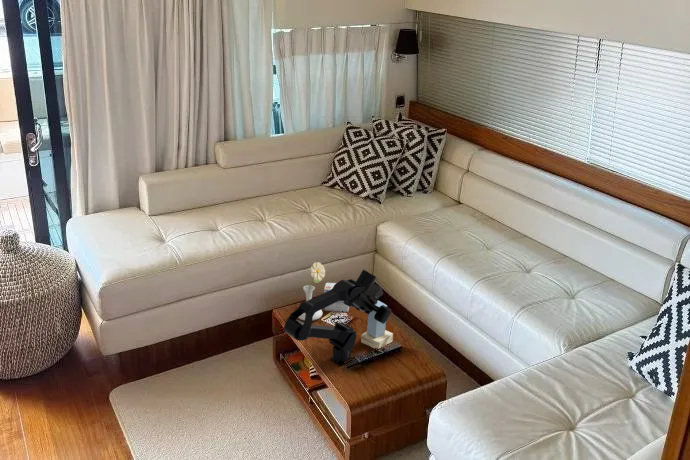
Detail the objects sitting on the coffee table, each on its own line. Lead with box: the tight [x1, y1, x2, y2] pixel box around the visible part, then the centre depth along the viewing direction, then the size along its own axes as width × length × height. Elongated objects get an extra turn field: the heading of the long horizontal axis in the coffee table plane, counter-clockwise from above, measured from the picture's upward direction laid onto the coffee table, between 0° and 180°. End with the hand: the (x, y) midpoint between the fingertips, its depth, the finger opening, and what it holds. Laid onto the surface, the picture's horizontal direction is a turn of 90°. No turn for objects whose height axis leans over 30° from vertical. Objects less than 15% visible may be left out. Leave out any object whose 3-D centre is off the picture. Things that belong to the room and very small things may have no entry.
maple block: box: [360, 329, 394, 349], centre depth 271 cm, size 9×9×4 cm
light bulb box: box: [323, 282, 350, 313], centre depth 294 cm, size 11×7×11 cm, turn 84°
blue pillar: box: [366, 299, 388, 338], centre depth 268 cm, size 5×5×13 cm
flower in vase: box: [297, 261, 326, 322], centre depth 285 cm, size 13×11×25 cm
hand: (380, 315), depth 268 cm, fingers open, 9 cm apart
